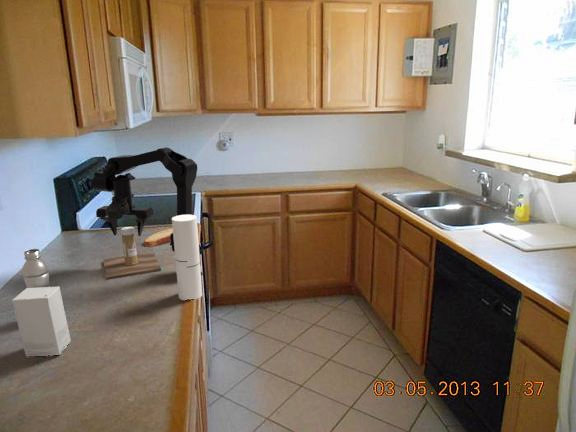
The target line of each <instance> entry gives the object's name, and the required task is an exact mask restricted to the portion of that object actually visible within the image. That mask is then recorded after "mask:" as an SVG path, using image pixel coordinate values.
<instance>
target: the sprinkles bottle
mask: <svg viewBox="0 0 576 432" xmlns="http://www.w3.org/2000/svg"><path fill="white" fill-rule="evenodd" d="M135 232H136V231H135V227H133V226H125V227H122V228H121V229H120V236H121V240H122V249H123V256H124V257H125V265H128V266H131V265H135V264H137V263H138V261H137V254H138V253H137V245H136V238H135Z"/></svg>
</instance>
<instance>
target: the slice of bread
mask: <svg viewBox="0 0 576 432" xmlns="http://www.w3.org/2000/svg"><path fill="white" fill-rule="evenodd" d="M171 233H173V227H171V228H168V229H163V230H160V231H157V232H155V233H153V234H151V235H149V236H148V237H146V238H145V239H144V240H143V246H144V247H145V248H154V247H157V246H162V245H165V244H170V243H171V238H170V234H171Z"/></svg>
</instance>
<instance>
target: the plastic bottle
mask: <svg viewBox="0 0 576 432" xmlns="http://www.w3.org/2000/svg"><path fill="white" fill-rule="evenodd" d="M23 255H24V260H25V262H24V263H23V266H22V267H21V275H22V279H23V280H24V283H25V287H26V288H39V287H51V285H50V274H49V273H50V272H49V271H50V269H49V265H48V263H47V262H46V261H45V260H43V259H42V258H41V256H42V254H41V252H40V249H38V248H32V249H26V250H25V251H24V252H23Z"/></svg>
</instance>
